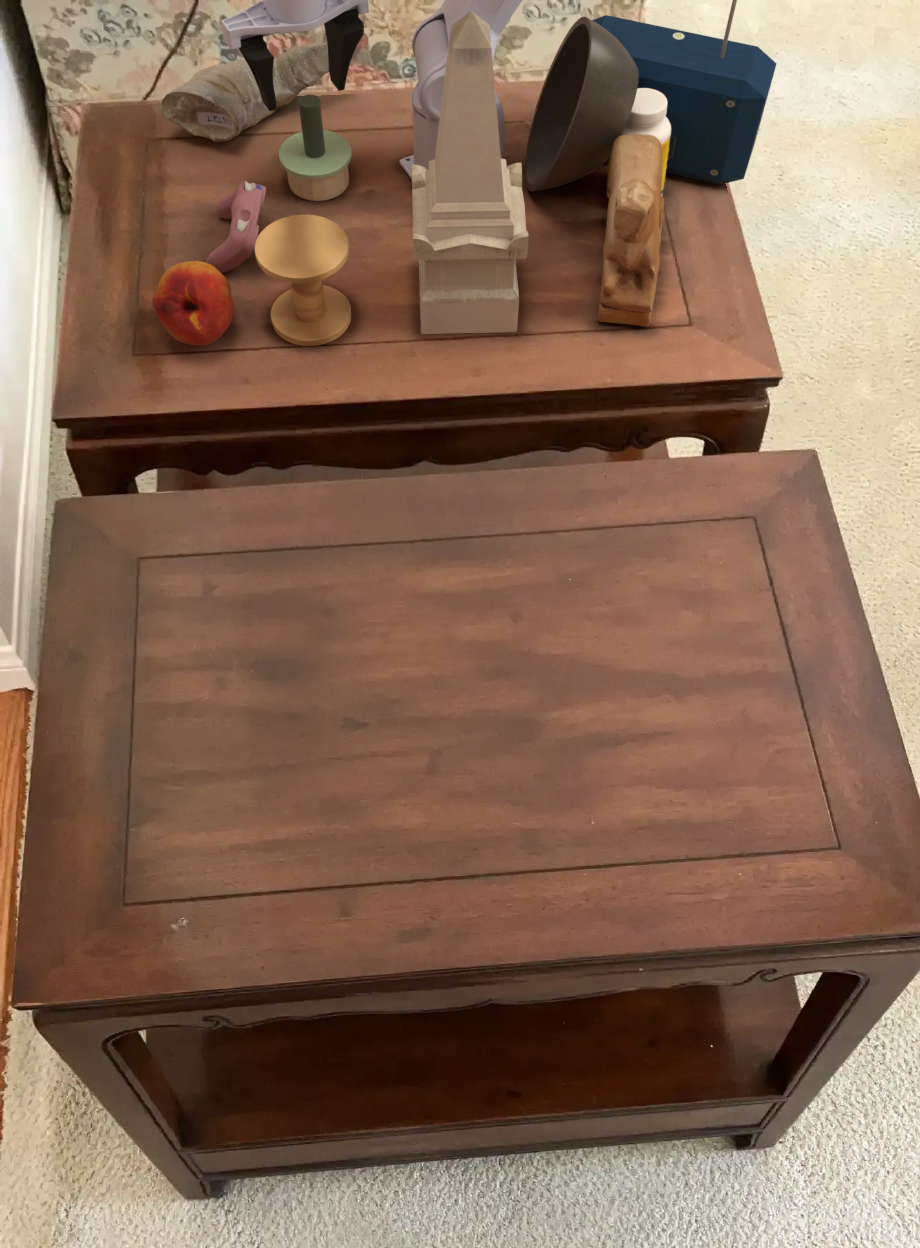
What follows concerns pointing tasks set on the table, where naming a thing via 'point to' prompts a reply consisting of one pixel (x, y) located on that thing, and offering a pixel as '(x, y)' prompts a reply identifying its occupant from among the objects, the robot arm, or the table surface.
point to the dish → (319, 186)
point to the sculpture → (632, 231)
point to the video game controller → (238, 225)
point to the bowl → (580, 107)
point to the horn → (241, 93)
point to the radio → (701, 94)
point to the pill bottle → (649, 123)
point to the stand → (305, 277)
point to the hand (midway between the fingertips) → (303, 94)
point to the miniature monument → (468, 201)
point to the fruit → (194, 302)
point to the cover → (314, 146)
